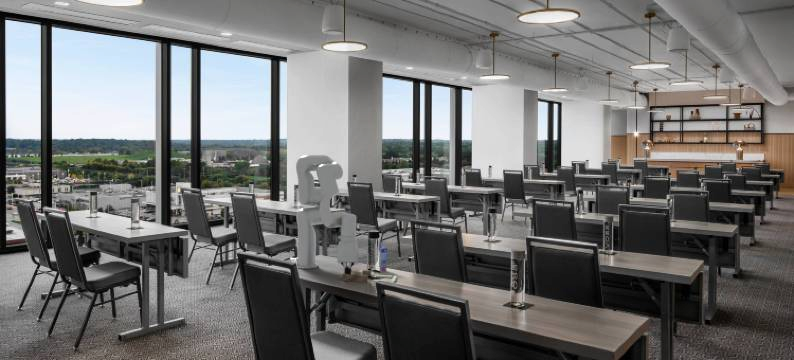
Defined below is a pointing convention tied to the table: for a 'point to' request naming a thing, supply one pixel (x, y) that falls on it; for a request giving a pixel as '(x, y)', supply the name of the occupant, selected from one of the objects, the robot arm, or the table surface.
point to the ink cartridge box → (381, 258)
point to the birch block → (356, 272)
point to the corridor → (357, 276)
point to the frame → (386, 277)
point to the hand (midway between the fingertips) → (347, 275)
